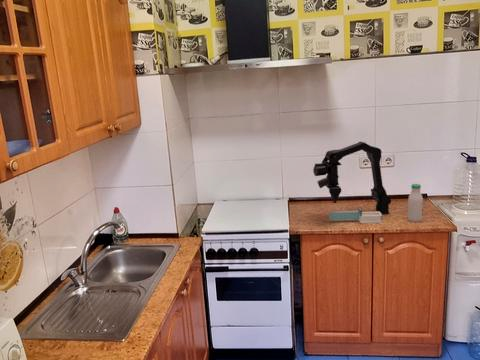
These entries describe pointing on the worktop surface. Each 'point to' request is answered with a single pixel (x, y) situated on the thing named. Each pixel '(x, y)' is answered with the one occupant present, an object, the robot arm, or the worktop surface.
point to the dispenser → (370, 217)
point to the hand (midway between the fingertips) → (333, 200)
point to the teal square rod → (344, 215)
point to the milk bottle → (415, 204)
